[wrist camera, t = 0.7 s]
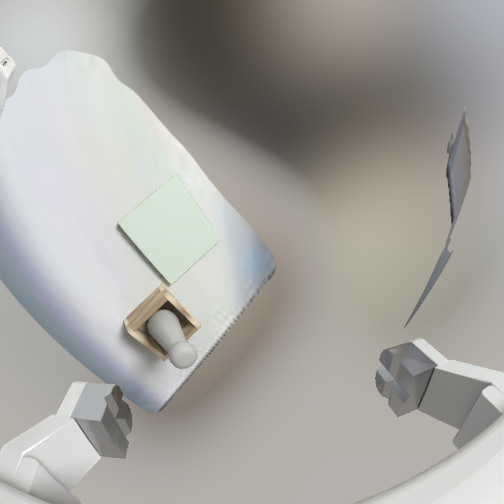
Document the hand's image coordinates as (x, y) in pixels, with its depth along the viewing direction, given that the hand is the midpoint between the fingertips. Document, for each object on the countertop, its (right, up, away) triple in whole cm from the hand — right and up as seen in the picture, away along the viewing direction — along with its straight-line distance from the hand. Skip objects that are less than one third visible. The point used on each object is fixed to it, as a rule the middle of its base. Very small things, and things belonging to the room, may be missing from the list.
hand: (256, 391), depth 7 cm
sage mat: (-13, +8, +37) cm, 40 cm away
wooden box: (-17, -8, +40) cm, 44 cm away
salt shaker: (-17, -8, +40) cm, 45 cm away
